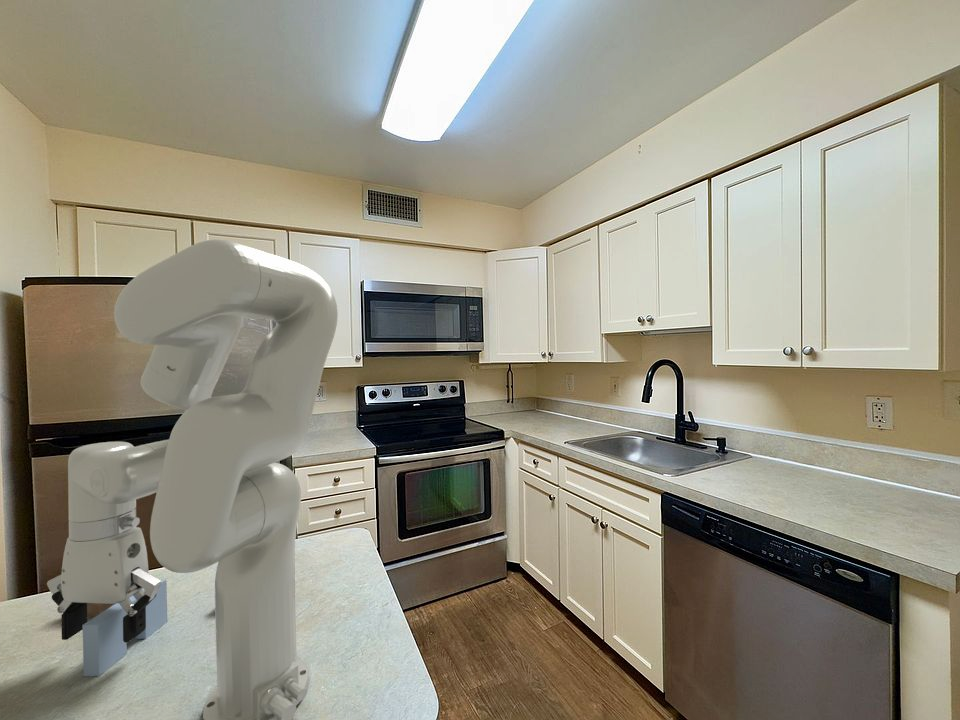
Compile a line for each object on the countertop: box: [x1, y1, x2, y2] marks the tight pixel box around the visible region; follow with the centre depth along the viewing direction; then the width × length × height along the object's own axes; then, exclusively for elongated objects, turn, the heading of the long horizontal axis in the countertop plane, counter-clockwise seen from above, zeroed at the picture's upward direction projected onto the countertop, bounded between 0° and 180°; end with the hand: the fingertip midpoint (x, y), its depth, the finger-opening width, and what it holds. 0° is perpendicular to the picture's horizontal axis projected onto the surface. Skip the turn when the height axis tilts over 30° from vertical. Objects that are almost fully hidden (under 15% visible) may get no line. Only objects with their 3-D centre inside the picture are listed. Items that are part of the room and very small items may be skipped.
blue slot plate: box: [82, 579, 168, 677], centre depth 65 cm, size 12×2×8 cm, turn 177°
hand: (104, 634), depth 61 cm, fingers open, 9 cm apart
